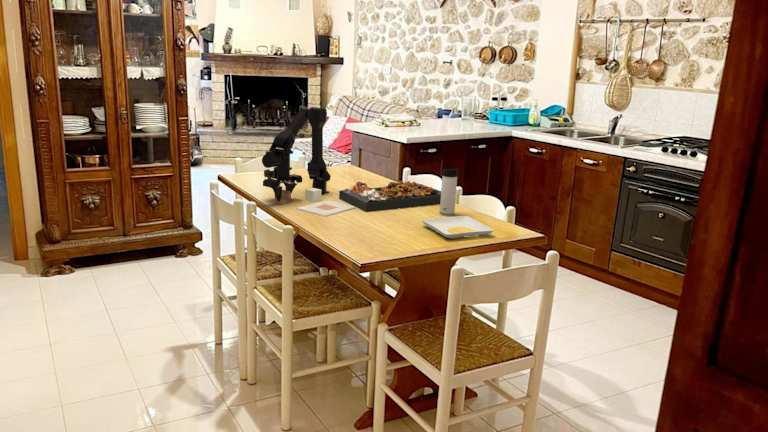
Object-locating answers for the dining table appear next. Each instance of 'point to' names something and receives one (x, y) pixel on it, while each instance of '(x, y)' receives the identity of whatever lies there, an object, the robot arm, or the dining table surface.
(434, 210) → the dining table surface
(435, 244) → the dining table surface
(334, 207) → the blueprint board
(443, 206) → the travel mug
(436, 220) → the salad plate
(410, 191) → the food platter
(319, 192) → the offwhite cube
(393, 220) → the dining table surface
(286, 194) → the walnut cube
